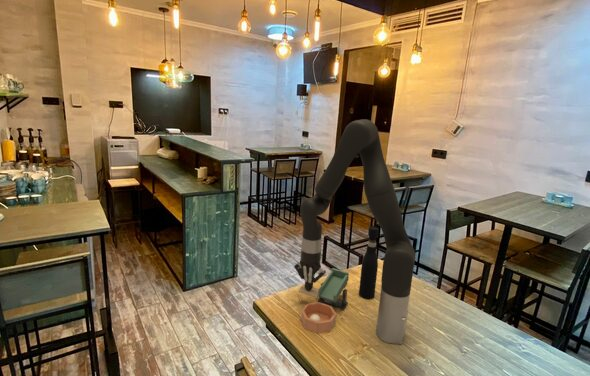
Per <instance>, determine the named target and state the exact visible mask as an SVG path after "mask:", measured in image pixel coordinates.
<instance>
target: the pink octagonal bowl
mask: <svg viewBox="0 0 590 376" xmlns="http://www.w3.org/2000/svg"><path fill="white" fill-rule="evenodd" d="M313 314H317V315H318V316H319V317H320V319H321V321H320V322H318V321H315V320H312V319H310V316H311V315H313ZM300 322H301V323H302V326H303V327H304V329H305V330H307V331H310V332H313V333H315V334H318V335H319V334H323V333H329V332H331V331H332V329H334V326H336V322H337V313H336V311H335V310H334V307H332V306H329V305H326V304H323V303H320V302H318V301H317V302H312V303H306V305H305V306H303V308H302V309H301V313H300Z"/></svg>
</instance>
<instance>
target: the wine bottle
mask: <svg viewBox="0 0 590 376" xmlns="http://www.w3.org/2000/svg"><path fill="white" fill-rule="evenodd" d="M379 230H380V229H379V227H377V226H373V225H372V226H369V227H368V234H367V236H368V237H369V239H368V241H367V245H366V251H365V253H364V255H363V259H362V261H361V268H360V270H361V271H360V278H359V287H358V295H359V297H360V298H362V299H364V300H372V299H375V293H376V285H377V277H378V267H379V264H378V263H379V262H378V256H377V248H378V247H377V238H378V237H379Z"/></svg>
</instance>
